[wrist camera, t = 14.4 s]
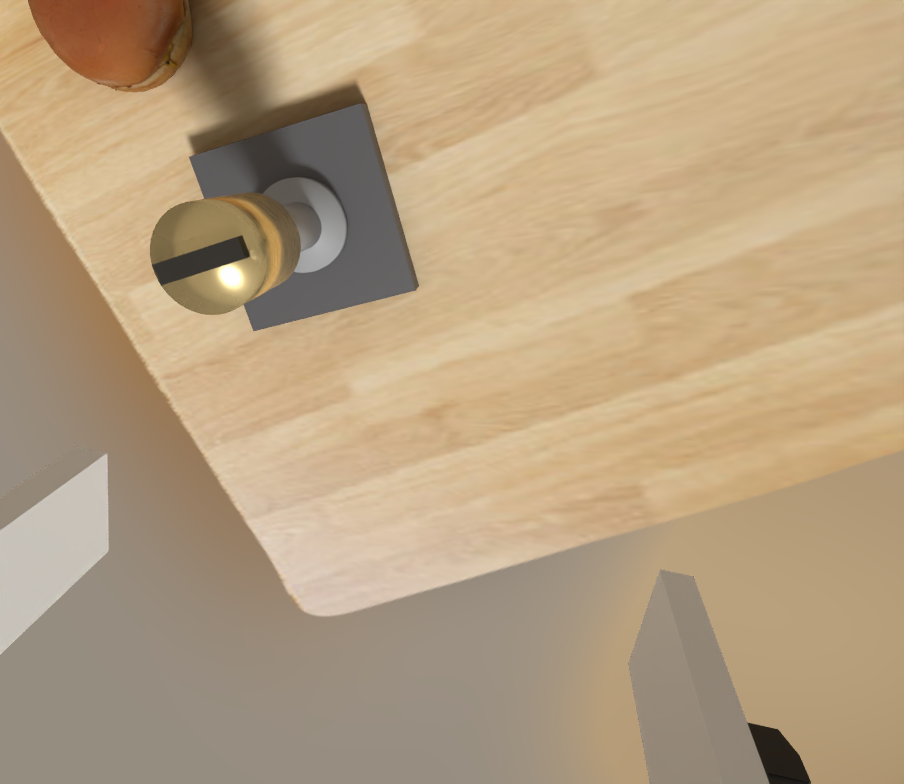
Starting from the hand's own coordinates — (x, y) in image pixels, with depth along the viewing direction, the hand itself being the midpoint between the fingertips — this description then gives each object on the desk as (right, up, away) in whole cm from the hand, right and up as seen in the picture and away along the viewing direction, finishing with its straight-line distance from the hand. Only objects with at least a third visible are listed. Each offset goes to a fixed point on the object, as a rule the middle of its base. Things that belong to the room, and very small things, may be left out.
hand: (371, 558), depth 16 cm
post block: (-8, +15, +30) cm, 35 cm away
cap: (-9, +12, +21) cm, 26 cm away
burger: (-19, +28, +27) cm, 44 cm away
